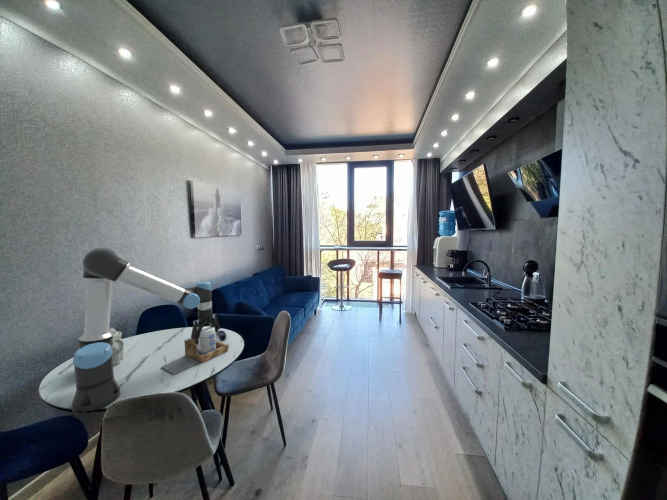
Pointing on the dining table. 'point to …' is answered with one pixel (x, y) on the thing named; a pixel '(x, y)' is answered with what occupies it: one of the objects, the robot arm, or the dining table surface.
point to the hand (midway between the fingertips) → (206, 345)
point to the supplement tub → (207, 340)
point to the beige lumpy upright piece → (117, 347)
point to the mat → (180, 365)
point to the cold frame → (191, 353)
